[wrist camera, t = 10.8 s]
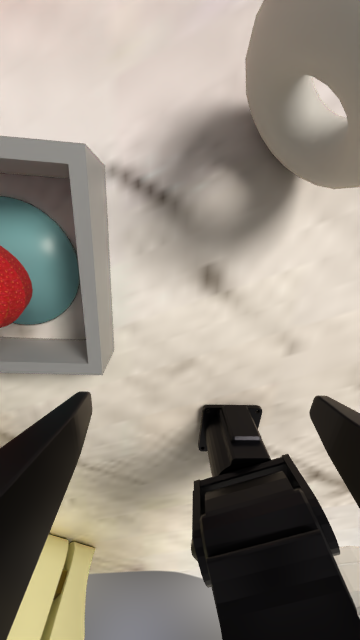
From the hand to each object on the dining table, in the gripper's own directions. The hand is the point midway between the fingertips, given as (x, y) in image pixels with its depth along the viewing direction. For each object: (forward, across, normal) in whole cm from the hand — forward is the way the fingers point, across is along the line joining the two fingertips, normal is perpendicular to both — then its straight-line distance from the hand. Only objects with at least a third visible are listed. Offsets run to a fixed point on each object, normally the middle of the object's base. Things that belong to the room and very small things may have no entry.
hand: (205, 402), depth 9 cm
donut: (+12, -6, -13) cm, 19 cm away
